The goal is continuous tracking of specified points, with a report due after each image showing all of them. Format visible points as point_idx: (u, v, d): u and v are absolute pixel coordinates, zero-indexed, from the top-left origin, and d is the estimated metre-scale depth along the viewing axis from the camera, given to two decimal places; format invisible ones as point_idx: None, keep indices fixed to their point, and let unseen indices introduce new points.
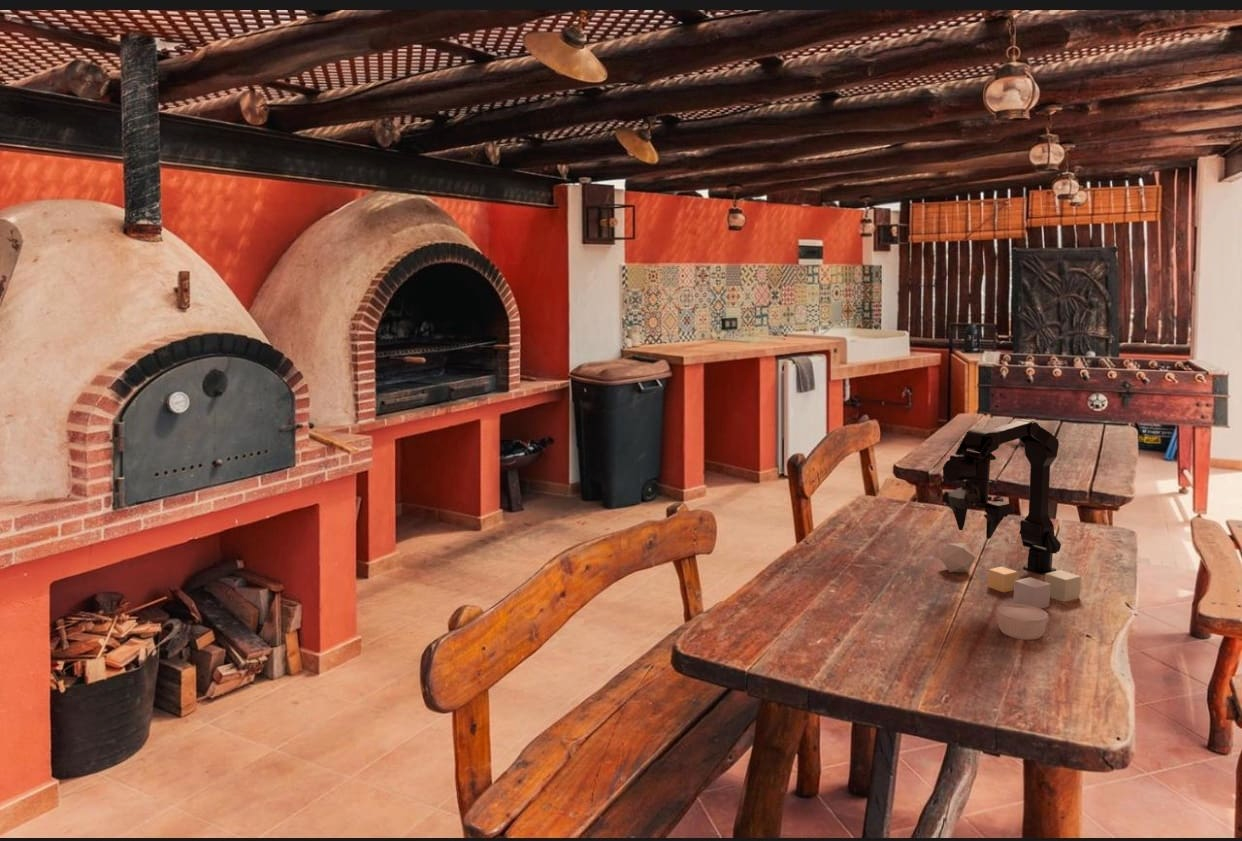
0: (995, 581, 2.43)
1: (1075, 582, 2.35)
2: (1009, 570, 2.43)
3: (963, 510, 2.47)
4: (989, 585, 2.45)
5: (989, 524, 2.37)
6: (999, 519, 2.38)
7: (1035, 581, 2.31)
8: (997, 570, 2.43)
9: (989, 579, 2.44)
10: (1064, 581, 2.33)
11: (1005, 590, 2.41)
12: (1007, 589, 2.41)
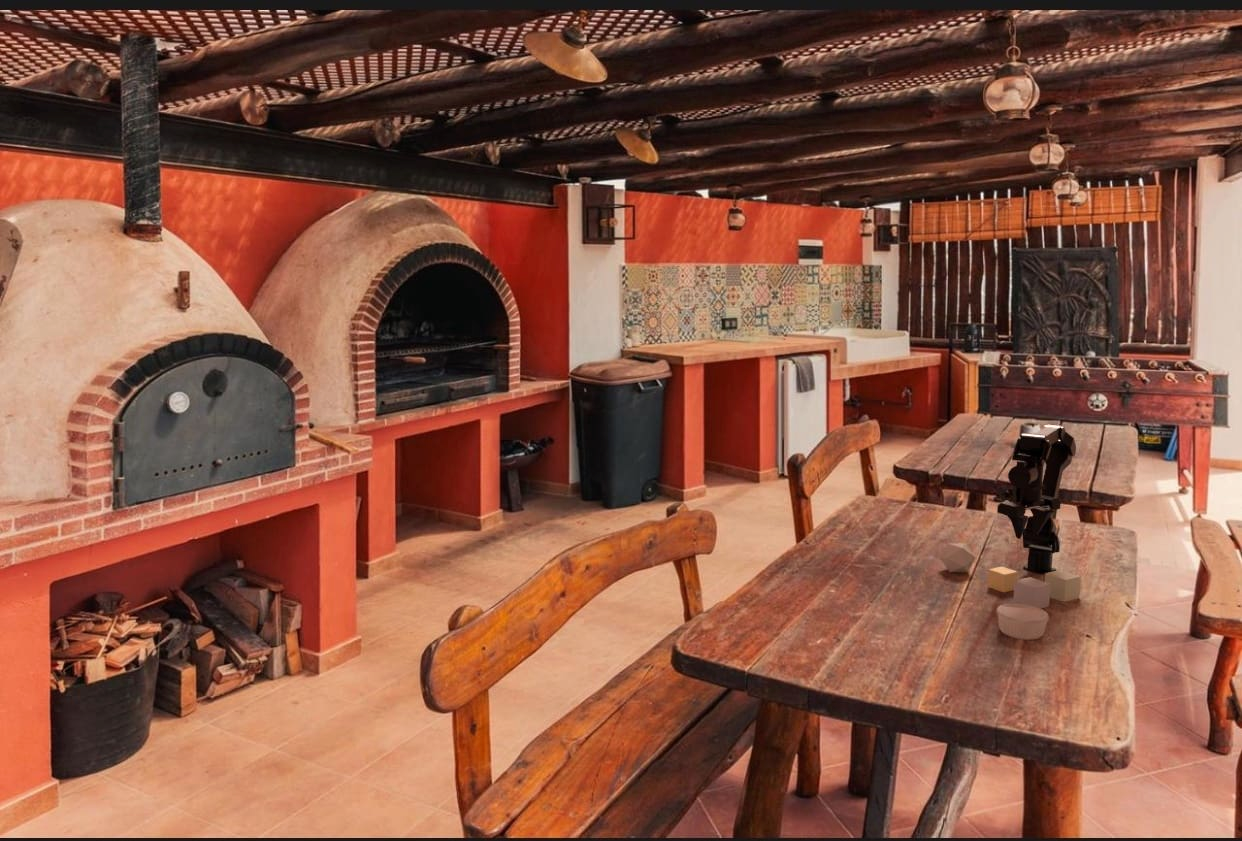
0: (995, 581, 2.43)
1: (1075, 582, 2.35)
2: (1009, 570, 2.43)
3: (1040, 516, 2.46)
4: (989, 585, 2.45)
5: None
6: (1020, 521, 2.42)
7: (1035, 581, 2.31)
8: (997, 570, 2.43)
9: (989, 579, 2.44)
10: (1064, 581, 2.33)
11: (1005, 590, 2.41)
12: (1007, 589, 2.41)
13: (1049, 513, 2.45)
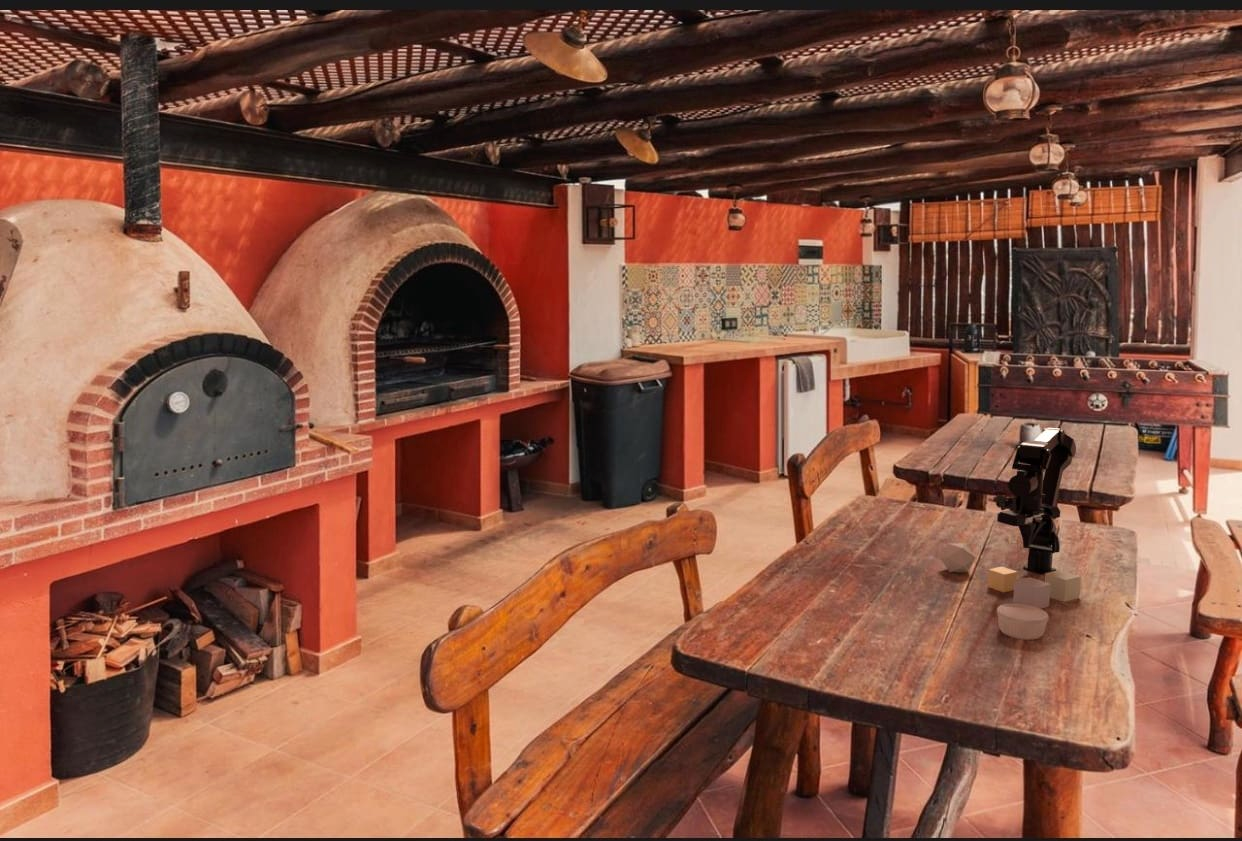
0: (995, 581, 2.43)
1: (1075, 582, 2.35)
2: (1009, 570, 2.43)
3: None
4: (989, 585, 2.45)
5: None
6: (1028, 528, 2.44)
7: (1035, 581, 2.31)
8: (997, 570, 2.43)
9: (989, 579, 2.44)
10: (1064, 581, 2.33)
11: (1005, 590, 2.41)
12: (1007, 589, 2.41)
13: (1041, 523, 2.44)
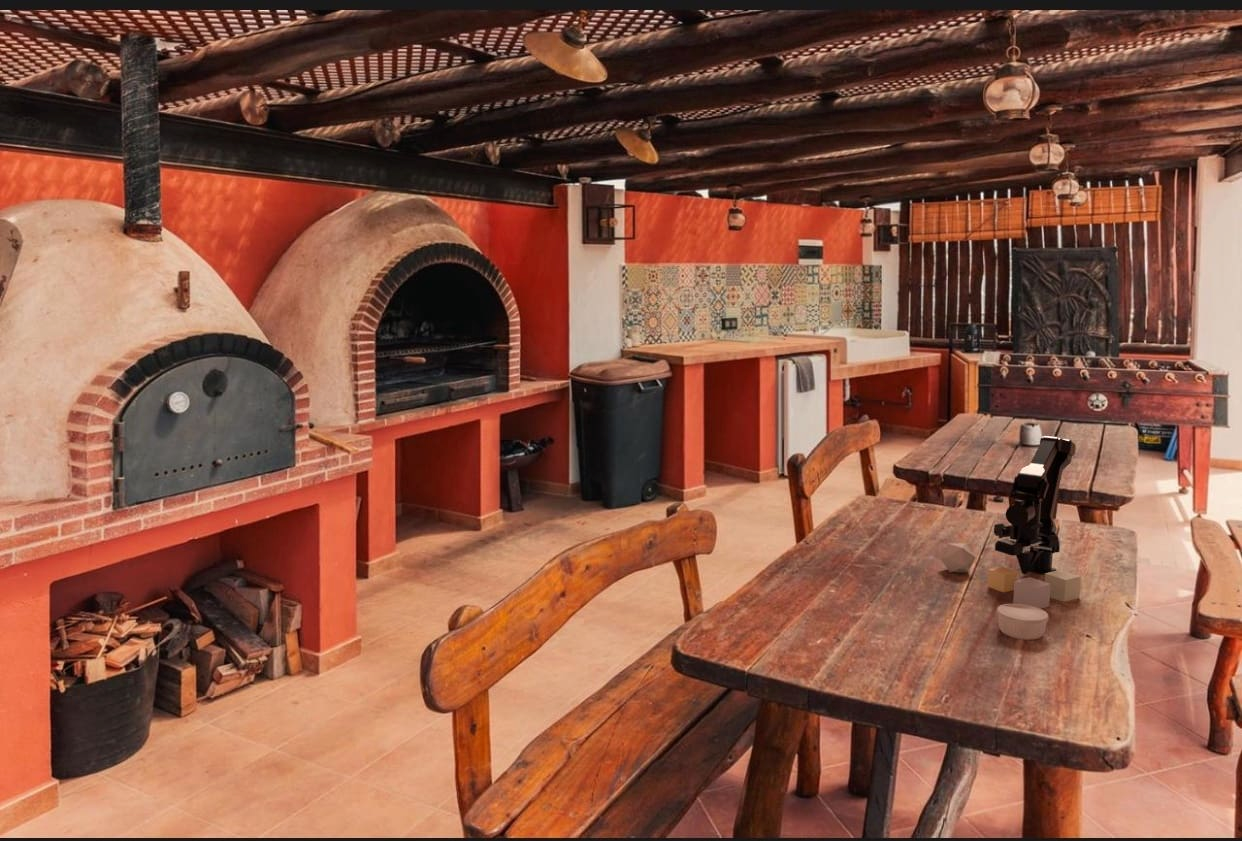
0: (995, 581, 2.43)
1: (1075, 582, 2.35)
2: (1009, 570, 2.43)
3: None
4: (989, 585, 2.45)
5: None
6: (1026, 557, 2.45)
7: (1035, 581, 2.31)
8: (997, 570, 2.43)
9: (989, 579, 2.44)
10: (1064, 581, 2.33)
11: (1005, 590, 2.41)
12: (1007, 589, 2.41)
13: (1038, 552, 2.45)
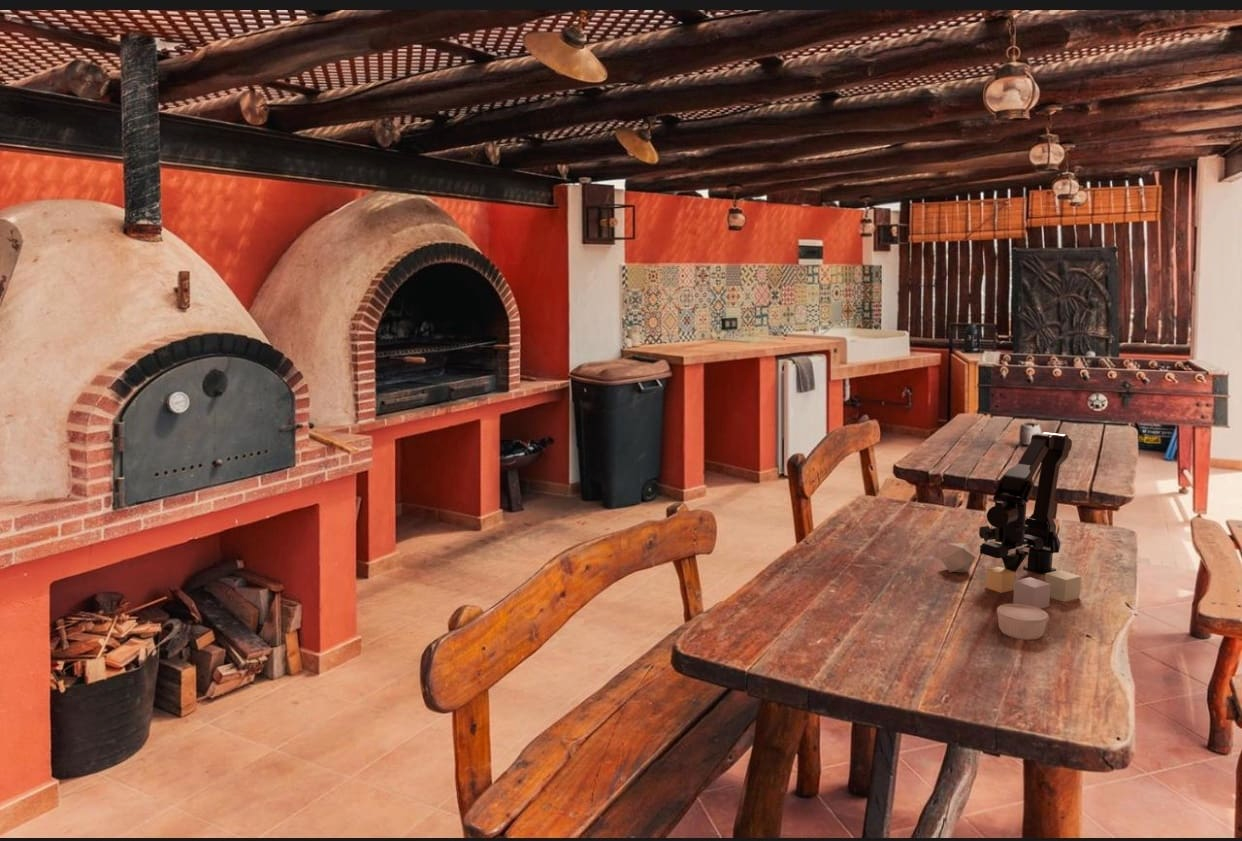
0: (993, 581, 2.42)
1: (1075, 582, 2.35)
2: (1006, 570, 2.43)
3: None
4: (986, 585, 2.44)
5: None
6: (1011, 560, 2.42)
7: (1035, 581, 2.31)
8: (994, 570, 2.43)
9: (986, 579, 2.44)
10: (1064, 581, 2.33)
11: (1002, 590, 2.40)
12: (1004, 589, 2.41)
13: (1024, 555, 2.42)
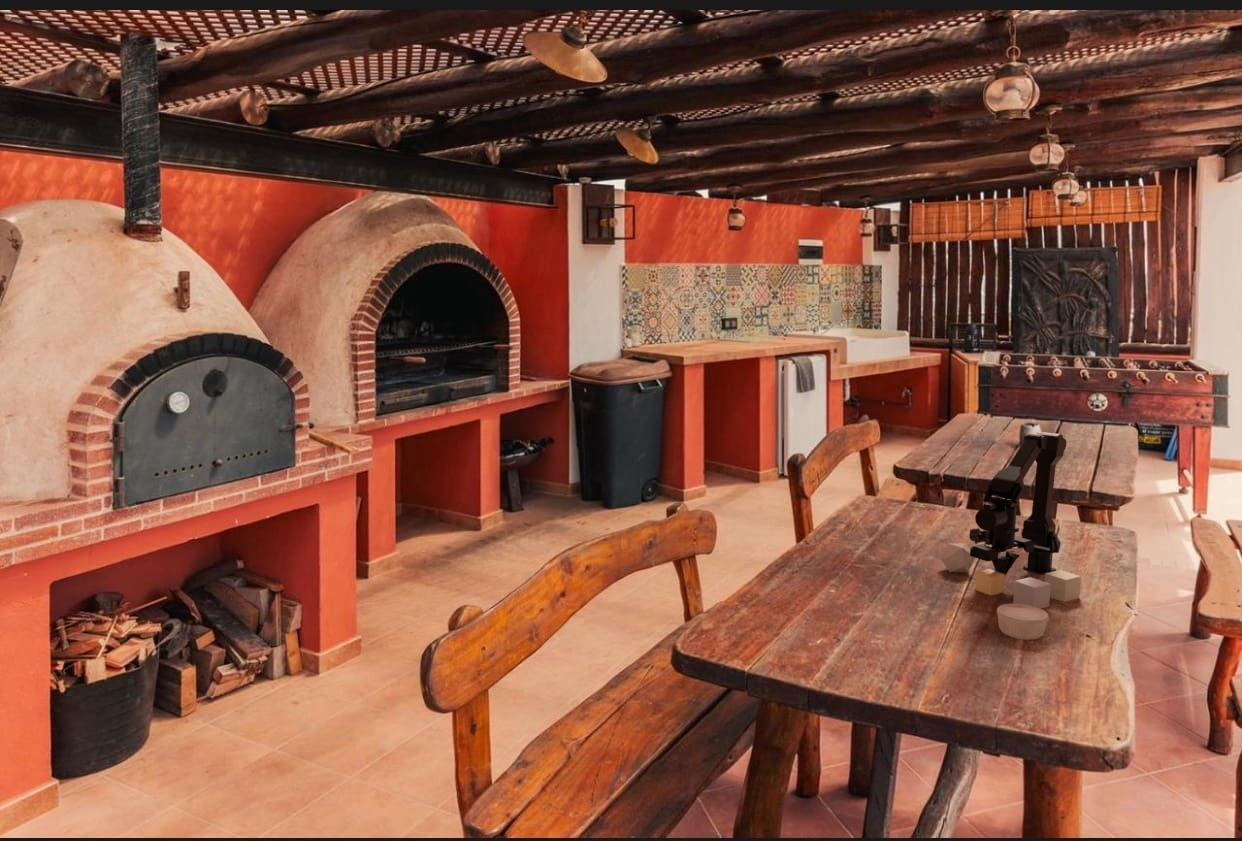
0: (982, 584, 2.40)
1: (1075, 582, 2.35)
2: (996, 572, 2.41)
3: None
4: (976, 588, 2.42)
5: None
6: (1001, 563, 2.40)
7: (1035, 581, 2.31)
8: (984, 572, 2.41)
9: (976, 582, 2.42)
10: (1064, 581, 2.33)
11: (992, 593, 2.39)
12: (994, 592, 2.39)
13: (1014, 558, 2.40)
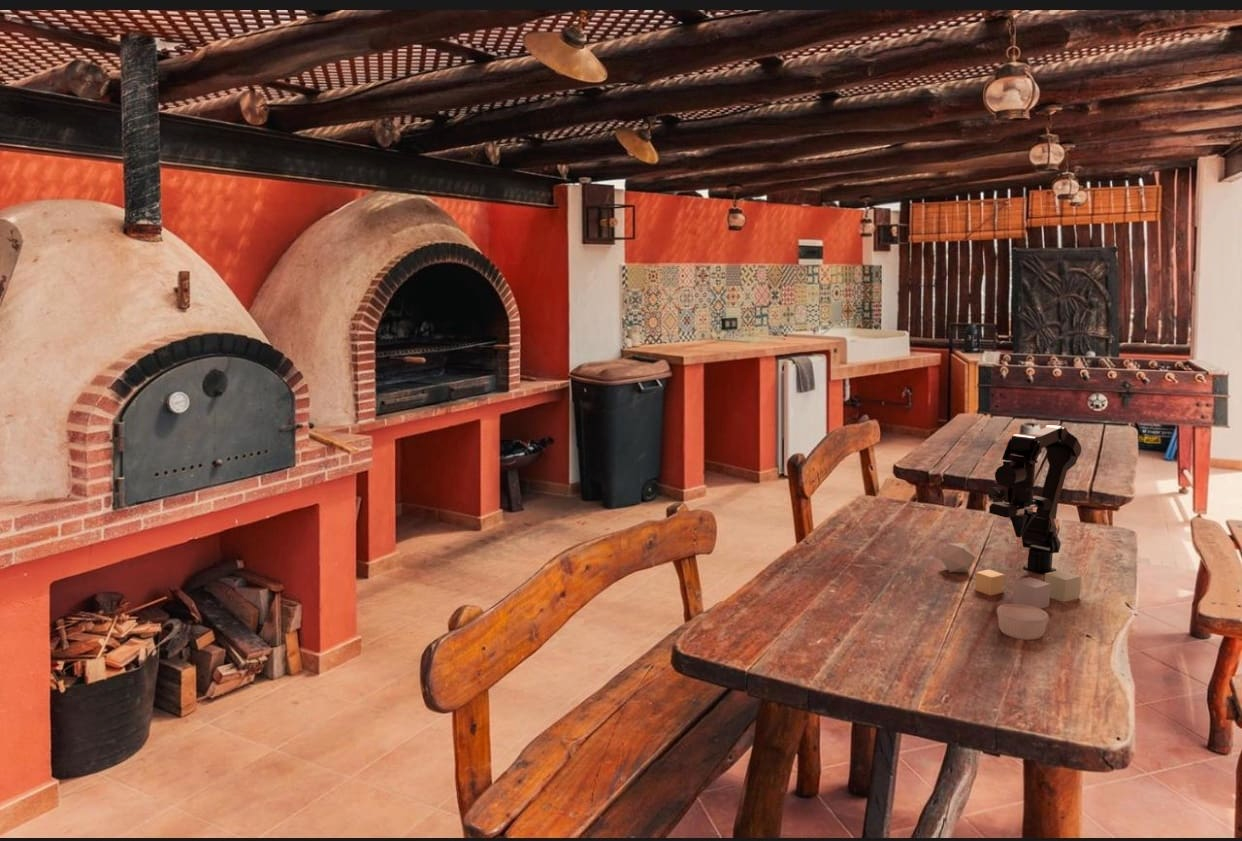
0: (982, 584, 2.40)
1: (1075, 582, 2.35)
2: (996, 573, 2.41)
3: None
4: (976, 588, 2.42)
5: None
6: (1020, 520, 2.44)
7: (1035, 581, 2.31)
8: (984, 573, 2.41)
9: (976, 582, 2.42)
10: (1064, 581, 2.33)
11: (992, 593, 2.39)
12: (994, 592, 2.39)
13: (1033, 515, 2.44)
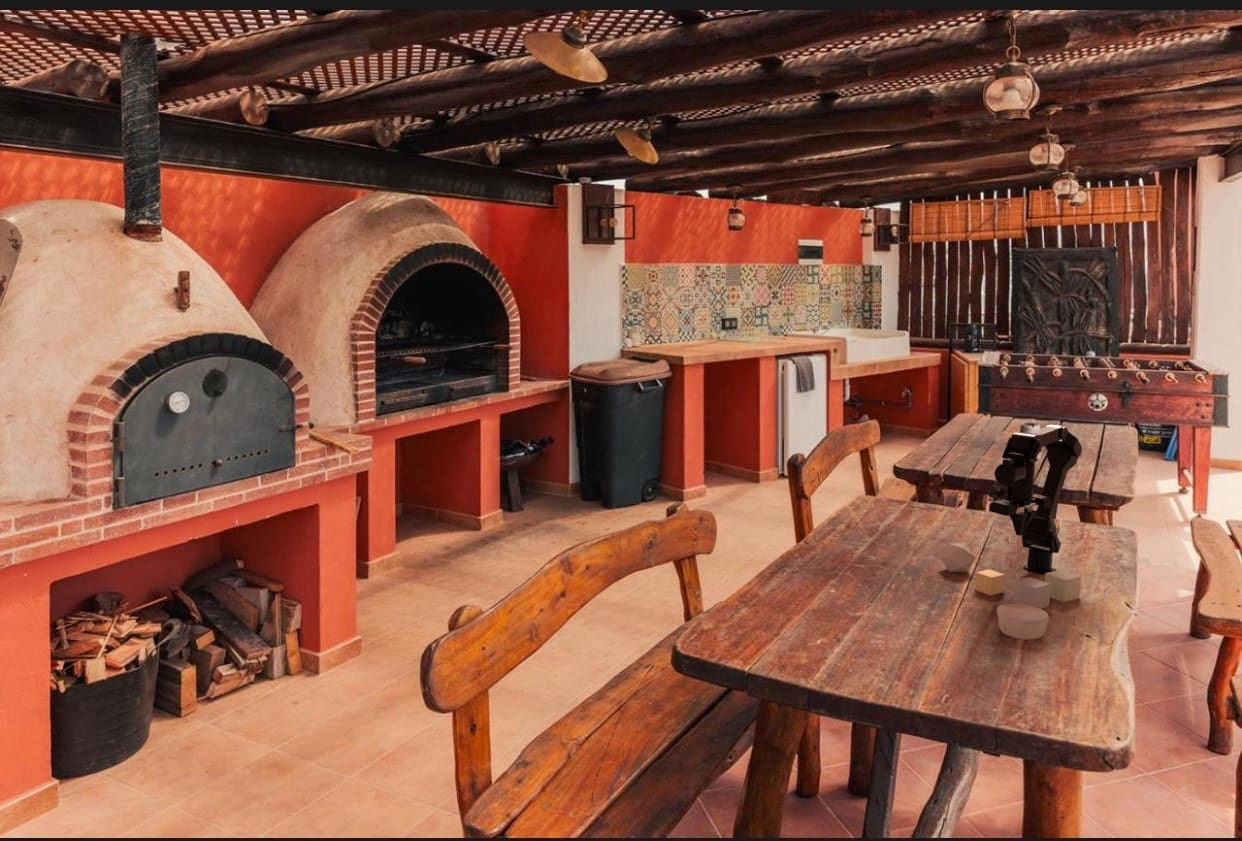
0: (982, 584, 2.40)
1: (1075, 582, 2.35)
2: (996, 573, 2.41)
3: None
4: (976, 588, 2.42)
5: None
6: (1020, 518, 2.44)
7: (1035, 581, 2.31)
8: (984, 573, 2.41)
9: (976, 582, 2.42)
10: (1064, 581, 2.33)
11: (992, 593, 2.39)
12: (994, 592, 2.39)
13: (1033, 513, 2.45)
